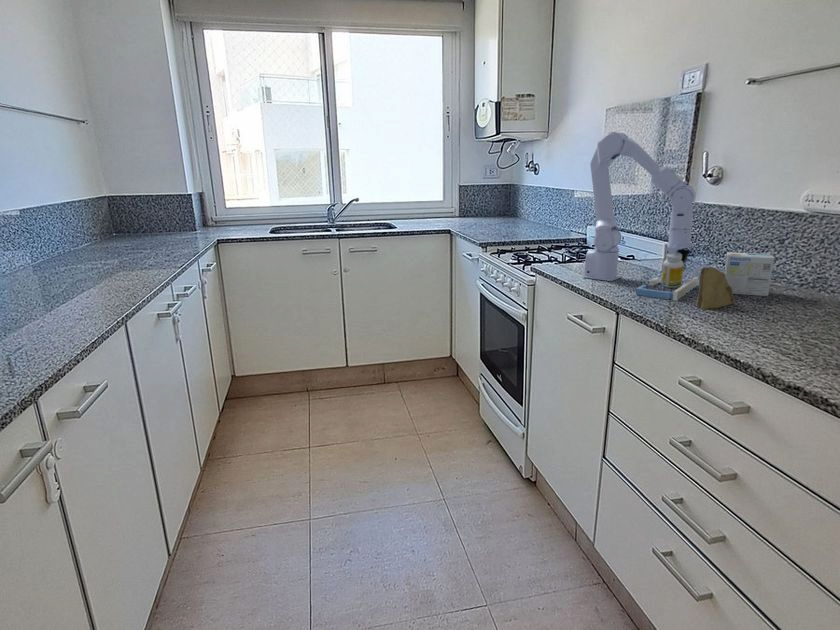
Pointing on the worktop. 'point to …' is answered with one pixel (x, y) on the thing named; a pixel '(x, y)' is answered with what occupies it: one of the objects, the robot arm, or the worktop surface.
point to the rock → (713, 289)
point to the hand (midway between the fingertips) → (676, 274)
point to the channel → (666, 295)
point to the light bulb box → (749, 273)
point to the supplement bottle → (672, 271)
